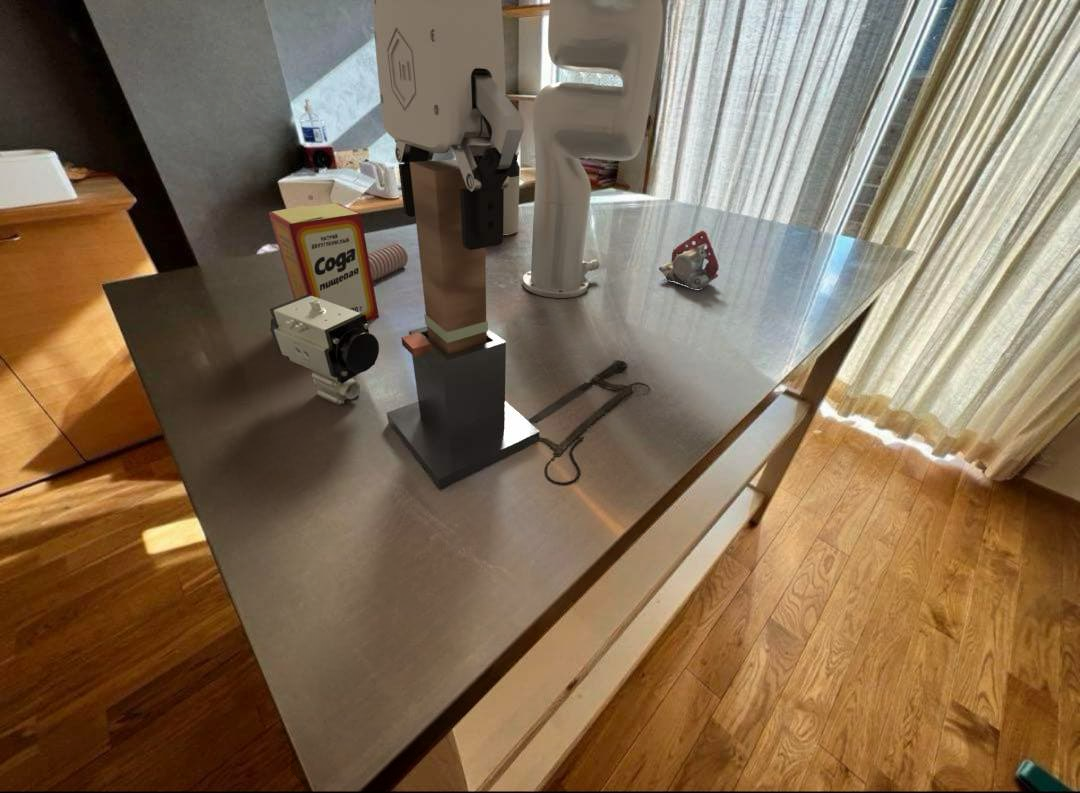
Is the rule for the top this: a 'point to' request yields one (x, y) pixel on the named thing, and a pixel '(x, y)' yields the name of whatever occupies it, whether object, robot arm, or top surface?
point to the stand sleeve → (459, 410)
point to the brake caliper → (692, 263)
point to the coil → (387, 260)
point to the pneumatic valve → (325, 344)
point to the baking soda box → (326, 255)
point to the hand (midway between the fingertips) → (450, 229)
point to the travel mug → (511, 201)
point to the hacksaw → (599, 379)
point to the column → (448, 259)
